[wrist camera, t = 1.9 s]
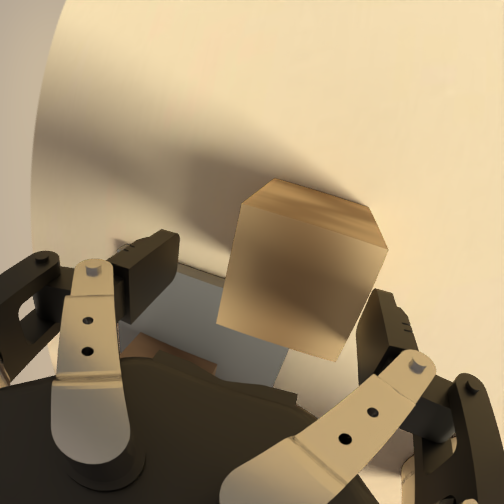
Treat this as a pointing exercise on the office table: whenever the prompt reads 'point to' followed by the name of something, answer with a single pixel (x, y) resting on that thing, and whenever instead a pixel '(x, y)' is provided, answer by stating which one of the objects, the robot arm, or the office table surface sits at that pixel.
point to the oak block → (300, 268)
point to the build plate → (204, 329)
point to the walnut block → (150, 347)
